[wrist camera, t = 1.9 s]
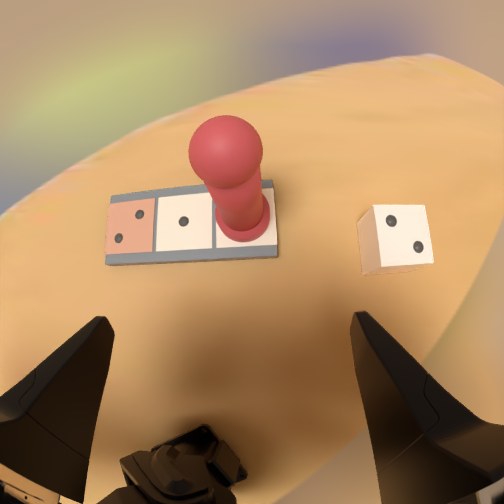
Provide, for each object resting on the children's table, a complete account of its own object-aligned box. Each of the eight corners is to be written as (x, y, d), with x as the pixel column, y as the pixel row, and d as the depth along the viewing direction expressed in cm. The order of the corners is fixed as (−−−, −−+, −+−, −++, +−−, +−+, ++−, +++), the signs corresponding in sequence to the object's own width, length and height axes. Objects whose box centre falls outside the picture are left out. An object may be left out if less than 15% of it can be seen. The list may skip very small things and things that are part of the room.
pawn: (236, 252, 23) (202, 191, 11) (208, 211, 24) (158, 127, 12) (280, 223, 23) (288, 139, 12) (250, 184, 24) (234, 83, 12)
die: (408, 271, 23) (434, 262, 18) (362, 275, 23) (381, 266, 19) (402, 222, 24) (424, 204, 19) (356, 223, 24) (373, 204, 20)
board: (272, 184, 25) (272, 178, 24) (277, 257, 24) (277, 255, 23) (115, 199, 26) (110, 195, 25) (110, 266, 25) (104, 264, 24)
